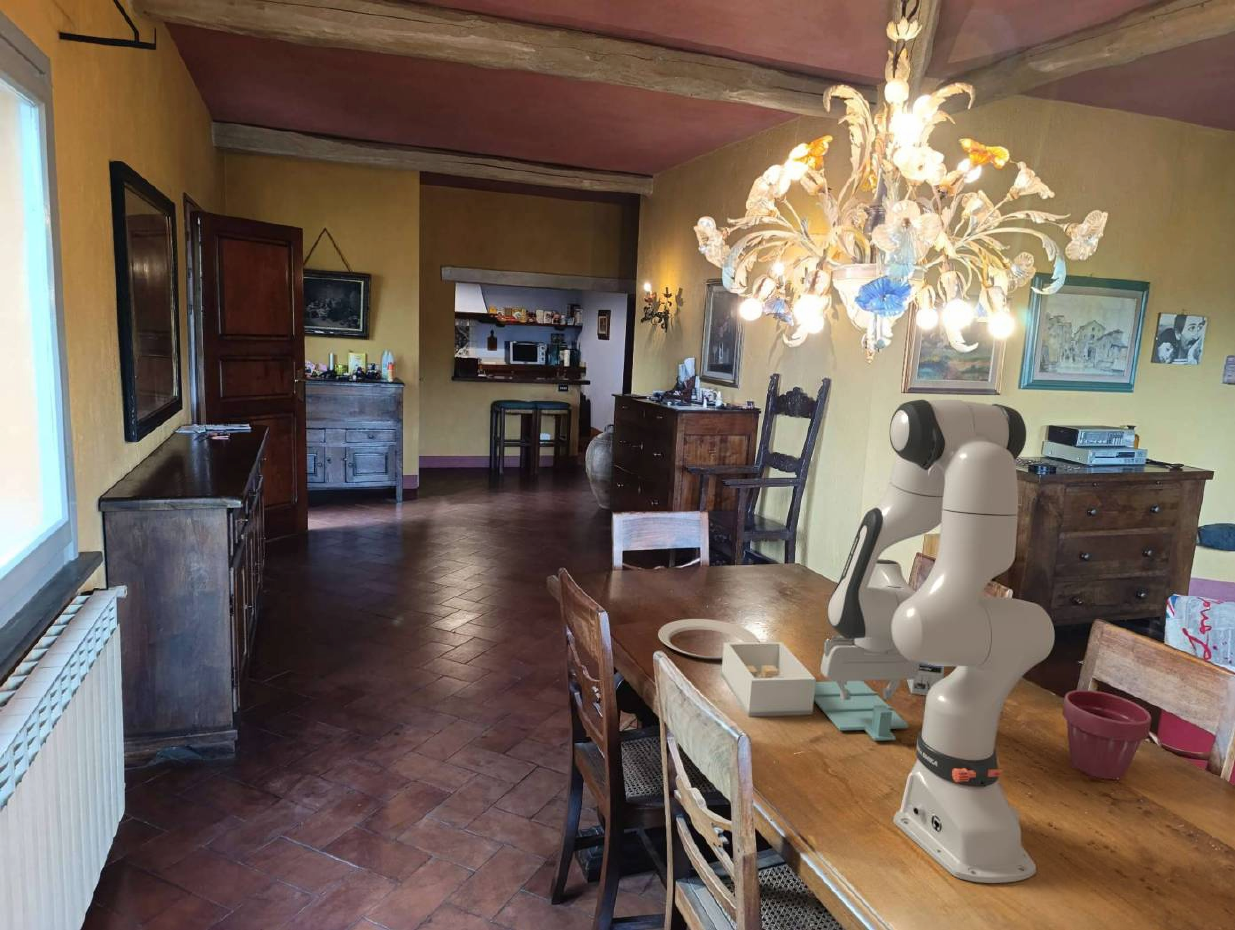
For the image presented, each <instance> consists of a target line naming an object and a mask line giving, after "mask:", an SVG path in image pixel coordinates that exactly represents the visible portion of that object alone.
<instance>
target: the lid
mask: <svg viewBox="0 0 1235 930" xmlns="http://www.w3.org/2000/svg"><path fill="white" fill-rule="evenodd" d="M844 686H845V688H846V689H848V690H849V691H850V692H851V696H850V700H842V699H841V697H840V693H841V689H840V688H839V686H838V684H837V682H836V681H816V682H815V692H814V703H815V704H816V705H817V706H818V707H819V708H820V709H821V710H822V711H823V713H824V714H825V715H826V716H827V717H828V719H829V720H830V721H831V722H832V723H833V724H834V725H835V727H836V728H837V729H838V730H839V731H854V730H855V731H861V730H862V731H863V730H864V731H865V732H866V733H867V734H868V735H869V736H870V737H871V739H873V740H874V741H896V736H895V734H893V733H892V731H891V730H893V729H894V730H895V729H896V730H897V729H909V728H910V726H909V724H908V723H907V722H906V721H905V720H904V719H903V717H901V716H900V715H898V713H897V712H896V711H895V710H894V707H893V706H889V705H888V703H886V702H885V700H883V699H882V698H881V697H880V696H879V695H878V692H877V691H874V690H872V688H870V687H869V685H867V684H866V682H864V680H861V681H847V685H844Z"/></svg>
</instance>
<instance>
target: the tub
mask: <svg viewBox="0 0 1235 930" xmlns="http://www.w3.org/2000/svg"><path fill="white" fill-rule="evenodd" d="M722 657H723V659H722V662H721V674H720V675H721V677H722V679H723V680H724V682H725V683H726V685H727V686H728V688H729V689H730V691H731V693H732V694H733V695H734V697H735V699H736V700H737V701H738V703H739V704H740V706H741V707H742V709H743V711H744V712H745V713H746V714H747V716H748V717H776V716H777V717H778V716H779V717H780V716H781V717H782V716H783V717H784V716H809V715H810V716H811V715H812V716H813V710H814V703H815V701H814V692H815V682H817V679H816V677H814V675H813V674H812V673H811V672H810V671H809V670H808V668H806V667H805V666H804V665H803V663H802V662H801V661H800V660H799V659H798V658H797V657H796V656H795V654H793V653H792V651H791V650H790V649H789V648H788V647H787V646H786V645H785V644H784V642H782V641H774V642H773V641H769V642H768V641H763V642H761V641H760V642H747V643H744V642H723V650H722Z"/></svg>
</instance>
